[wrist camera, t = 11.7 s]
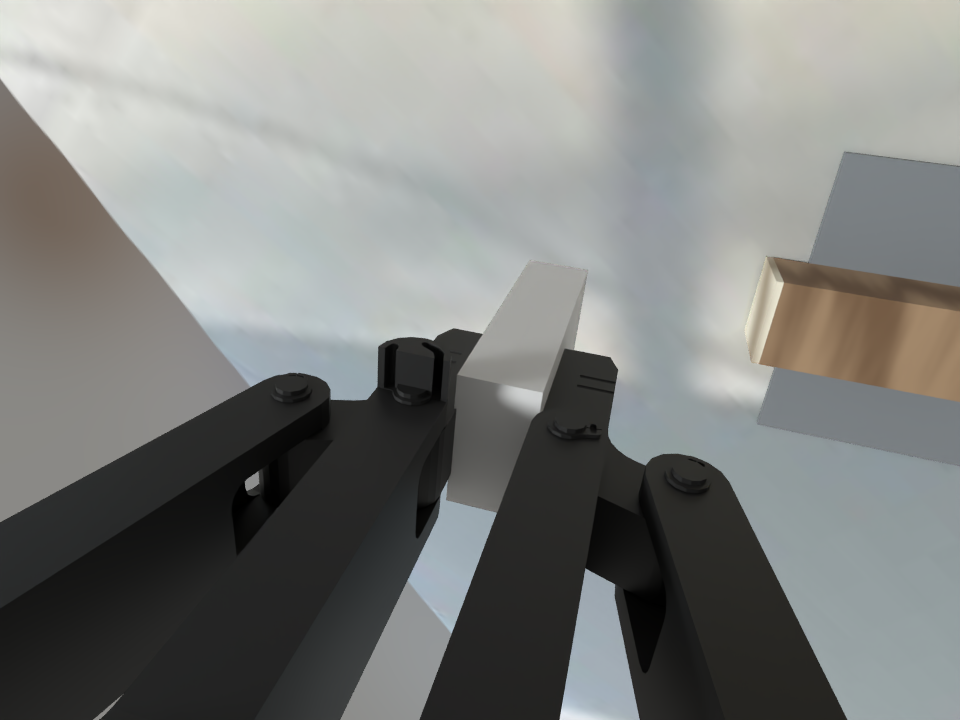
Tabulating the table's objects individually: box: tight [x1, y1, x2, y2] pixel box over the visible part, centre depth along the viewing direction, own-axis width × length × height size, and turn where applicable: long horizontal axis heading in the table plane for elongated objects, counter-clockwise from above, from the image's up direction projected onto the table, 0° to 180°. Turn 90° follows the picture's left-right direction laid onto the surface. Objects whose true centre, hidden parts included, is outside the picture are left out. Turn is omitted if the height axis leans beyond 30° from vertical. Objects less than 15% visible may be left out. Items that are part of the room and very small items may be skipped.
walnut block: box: [744, 256, 960, 402], centre depth 38 cm, size 5×5×14 cm
